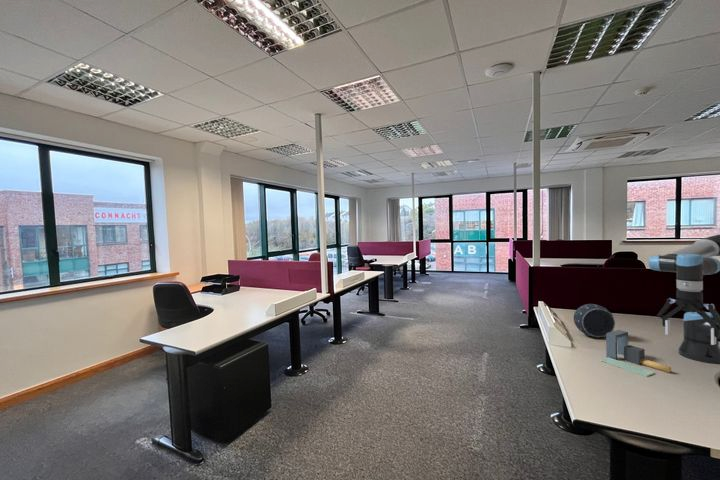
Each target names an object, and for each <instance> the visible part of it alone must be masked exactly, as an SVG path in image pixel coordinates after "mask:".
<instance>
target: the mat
mask: <svg viewBox="0 0 720 480" xmlns="http://www.w3.org/2000/svg"><path fill="white" fill-rule="evenodd" d="M599 360H600V362H602V361H603V362H602V363H605V362H606V364H608V365H610V366H613V365H614V367H616V366H617V368H619V367H620V369H622V368H623V370H625V371H629V372H630V373H631V372H632V373H634V374H637V375H641V376H643V377H646V378H647V377H650V376H652V375H655V374H656V373H655V371H652V370H649V369H645V368H643V367H639V366H636V365H635V364H634V365H633V364H630V363H627V362H624V361H621V360H618V359H617V360H615V359H612V358H609V357H605V358H602V359H599Z"/></svg>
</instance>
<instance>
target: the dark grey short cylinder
mask: <svg viewBox="0 0 720 480" xmlns="http://www.w3.org/2000/svg"><path fill="white" fill-rule="evenodd" d="M615 321H616V320H615V318H614V314H613V313H612V312H610V310H609V309H607V308H606V307H604V306H602V305H600V304H594V303H586V304H583V305H581V306H579V307H577V309H576V310H575V311H574V314H573V323H574V325H575V327H576V328H577V329H578V330H579V332H581V333H583V334H584V335H586V336H589V337H592V338H595V339H597V338H602V337H606V333H608V332H612V331H614V328H615V325H616V322H615Z"/></svg>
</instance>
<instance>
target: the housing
mask: <svg viewBox="0 0 720 480" xmlns="http://www.w3.org/2000/svg"><path fill="white" fill-rule="evenodd" d="M605 337H606V338H605V339H606V341H605V346H606V349H605V351H606V352H605V353H606V355H605V356H606V357H605V358H608V357H609V358H612V359H615V360H616V359H617V360H618V355H621V356H624V346H628V345H629V332H628V331H625V330H622V329H617V330H613V331H612V332H608V333H606V336H605Z"/></svg>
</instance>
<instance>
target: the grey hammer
mask: <svg viewBox="0 0 720 480" xmlns="http://www.w3.org/2000/svg"><path fill="white" fill-rule="evenodd" d="M645 351H646V350H645V348H642V347H638V346H634V345H632V344H631V345H630V344H628V346H624V355H623V361H625V360H626V361H625V362H629V363H632V364H634V363H635V364H634V365H638V366H640V365H643V366H646V367H649V368H652V369H655V370H659V371H662V372H665V373H669V374H670V373H671V372H672V367H671V366H669V365H665V364H662V363H659V362H656V361H652V360H650V359H645V358H646V357H645V355H646V354H645Z"/></svg>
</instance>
